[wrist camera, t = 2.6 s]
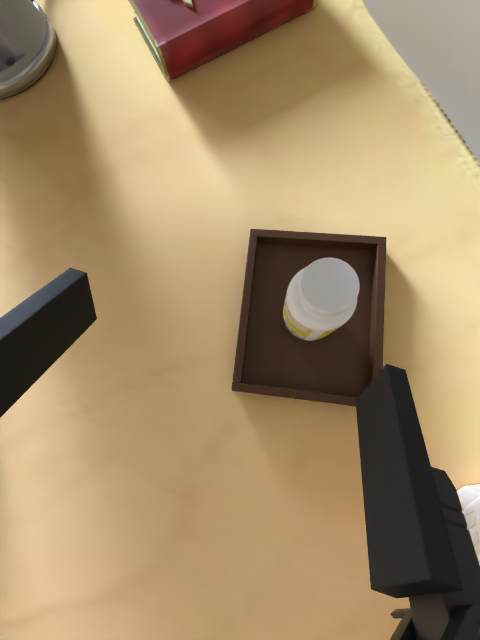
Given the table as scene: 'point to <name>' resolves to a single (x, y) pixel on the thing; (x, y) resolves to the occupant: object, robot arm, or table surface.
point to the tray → (302, 355)
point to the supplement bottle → (320, 298)
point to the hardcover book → (207, 27)
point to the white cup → (471, 512)
